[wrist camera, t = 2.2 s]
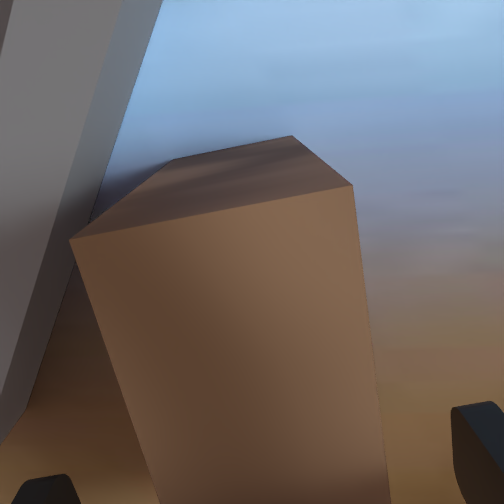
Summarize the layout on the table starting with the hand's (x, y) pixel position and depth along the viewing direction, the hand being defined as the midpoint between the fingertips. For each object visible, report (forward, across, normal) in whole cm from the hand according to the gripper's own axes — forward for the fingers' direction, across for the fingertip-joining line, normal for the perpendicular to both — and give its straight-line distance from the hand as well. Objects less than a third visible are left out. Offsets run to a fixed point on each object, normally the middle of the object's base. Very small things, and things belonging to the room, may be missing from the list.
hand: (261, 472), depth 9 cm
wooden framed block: (+8, 0, 0) cm, 8 cm away
